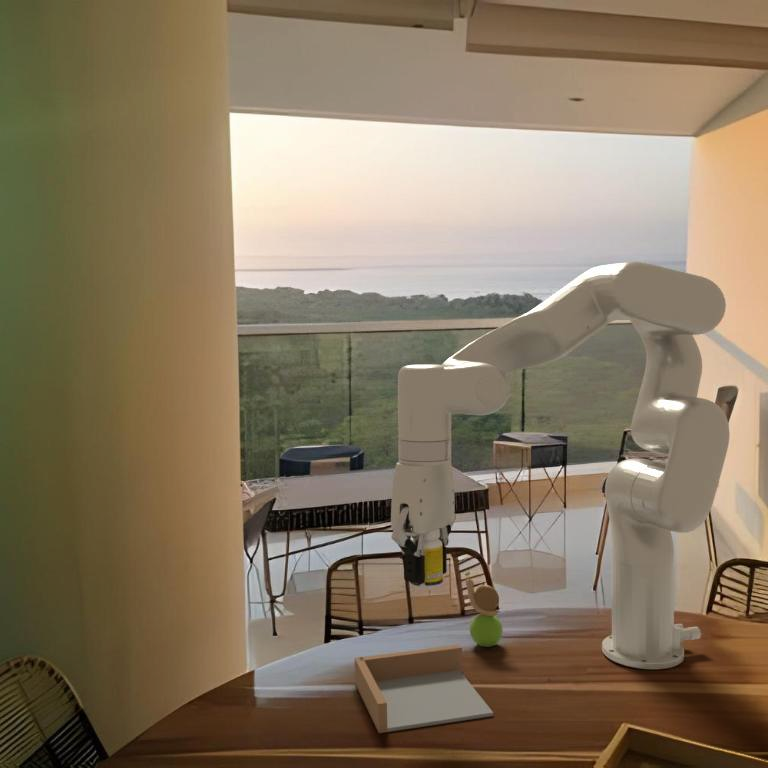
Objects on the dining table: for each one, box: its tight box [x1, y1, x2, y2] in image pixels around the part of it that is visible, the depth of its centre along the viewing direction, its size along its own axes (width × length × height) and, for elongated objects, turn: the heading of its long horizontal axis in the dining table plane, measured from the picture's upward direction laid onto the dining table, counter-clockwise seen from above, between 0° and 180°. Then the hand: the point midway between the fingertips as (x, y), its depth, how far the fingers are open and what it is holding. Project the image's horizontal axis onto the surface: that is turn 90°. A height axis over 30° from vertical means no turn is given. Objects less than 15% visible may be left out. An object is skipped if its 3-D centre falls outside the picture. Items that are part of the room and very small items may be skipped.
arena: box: [354, 644, 494, 734], centre depth 114 cm, size 17×15×4 cm
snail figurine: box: [464, 571, 503, 648], centre depth 132 cm, size 5×6×12 cm
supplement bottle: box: [409, 528, 444, 591], centre depth 113 cm, size 5×5×8 cm
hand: (425, 575), depth 114 cm, fingers closed on supplement bottle, 4 cm apart
